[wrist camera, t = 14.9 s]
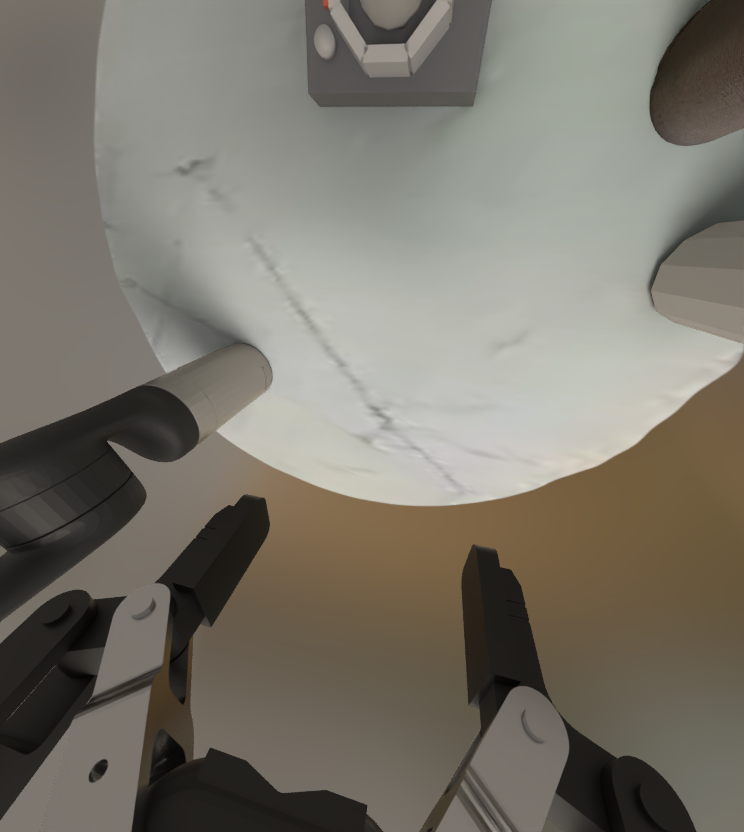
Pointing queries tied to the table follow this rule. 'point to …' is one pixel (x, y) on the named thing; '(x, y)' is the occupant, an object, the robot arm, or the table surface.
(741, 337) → the jar
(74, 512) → the robot arm
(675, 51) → the pillar candle
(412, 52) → the octagon ring base
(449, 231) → the table surface
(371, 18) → the salt shaker
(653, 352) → the table surface
